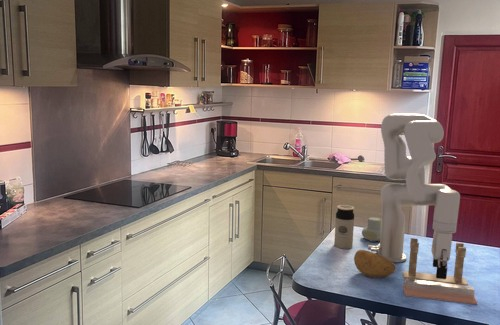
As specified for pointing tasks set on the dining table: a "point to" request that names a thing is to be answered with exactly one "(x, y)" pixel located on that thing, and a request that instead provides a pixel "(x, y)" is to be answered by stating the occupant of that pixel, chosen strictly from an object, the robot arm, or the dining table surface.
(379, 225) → the air freshener
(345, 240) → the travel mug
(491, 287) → the dining table surface
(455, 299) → the terracotta mat
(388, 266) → the potato
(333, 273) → the dining table surface
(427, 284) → the steel bar
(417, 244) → the hook stand
